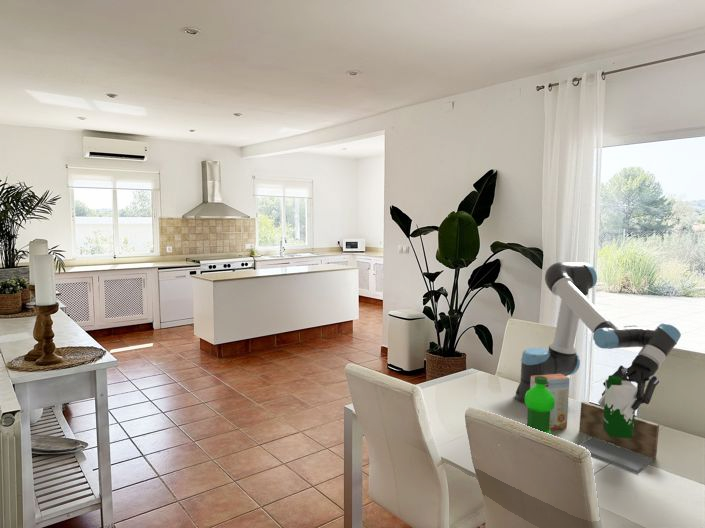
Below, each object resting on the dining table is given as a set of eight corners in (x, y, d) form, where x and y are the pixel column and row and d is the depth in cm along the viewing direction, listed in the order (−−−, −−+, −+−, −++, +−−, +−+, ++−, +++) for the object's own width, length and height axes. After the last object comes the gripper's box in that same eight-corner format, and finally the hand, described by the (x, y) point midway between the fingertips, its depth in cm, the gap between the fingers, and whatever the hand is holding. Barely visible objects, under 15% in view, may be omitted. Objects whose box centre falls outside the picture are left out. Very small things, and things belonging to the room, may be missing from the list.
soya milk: (599, 426, 169) (603, 372, 167) (627, 429, 167) (631, 374, 166) (607, 437, 161) (611, 380, 159) (636, 440, 159) (641, 383, 157)
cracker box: (557, 422, 192) (560, 372, 190) (567, 429, 186) (570, 377, 184) (526, 425, 189) (530, 374, 187) (536, 431, 183) (539, 379, 181)
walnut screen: (579, 432, 184) (581, 402, 183) (581, 430, 185) (583, 401, 184) (654, 458, 164) (657, 425, 163) (656, 457, 165) (659, 424, 164)
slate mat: (576, 449, 169) (576, 446, 169) (592, 439, 178) (592, 437, 178) (637, 473, 154) (637, 470, 154) (651, 461, 162) (651, 458, 162)
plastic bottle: (546, 453, 166) (551, 384, 163) (517, 443, 172) (521, 377, 170) (556, 443, 173) (560, 378, 171) (527, 434, 180) (531, 371, 178)
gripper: (683, 377, 158) (647, 429, 153) (625, 359, 178) (591, 405, 173) (674, 363, 155) (637, 415, 151) (616, 346, 175) (581, 392, 171)
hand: (612, 410), depth 162 cm, fingers closed on soya milk, 9 cm apart
